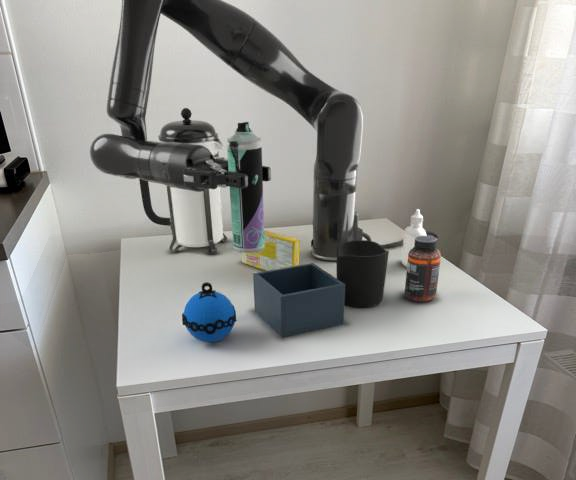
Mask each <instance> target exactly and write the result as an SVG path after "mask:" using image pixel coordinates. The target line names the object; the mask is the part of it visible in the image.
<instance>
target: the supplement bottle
mask: <svg viewBox="0 0 576 480" xmlns="http://www.w3.org/2000/svg"><path fill="white" fill-rule="evenodd" d="M414 245H415V246H414V247H413V248H412V249H411V250H410V251H409V253H408V262H407V267H406V273H405V282H404V283H405V284H404V297H405V298H406V299H409V300H410V301H413V302H419V303H420V302H421V303H423V302H430V301H432V300H434V299H435V298H436V296H437V292H438V283H439V276H440V268H441V259H442V253H441V251H440V250H439V249H438V248H437V246H438V238H435V237H434V236H433V235H427V236H418V237H416V238H415V244H414Z"/></svg>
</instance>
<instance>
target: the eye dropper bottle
mask: <svg viewBox="0 0 576 480" xmlns="http://www.w3.org/2000/svg"><path fill="white" fill-rule="evenodd" d="M423 222H424V216H423V215H422V214H421V209H420V208H417V209H416V210H415V212H414V214H412V215H411V216H410V226H407V227H405V229H404V231H403V232H404V233H403V239H404V240H403V239H402V240H403V244H402V250H401V260H400V261H401V264H402V265H403V266H404V267H406V268H407V262H408V253H409V251H410V250H411V249H412V248H413V247H414V246H415V245H414V244H415V238H416V237H418V236H428V235H426V232H425V231H426V230H425V229H424V228H423Z"/></svg>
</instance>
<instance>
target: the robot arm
mask: <svg viewBox="0 0 576 480" xmlns="http://www.w3.org/2000/svg"><path fill="white" fill-rule="evenodd" d="M120 12H121V13H120V21H119V27H118V34H117V40H116V46H115V50H114V57H113V61H112V68H111V74H110V80H109V87H108V93H107V101H106V115H107V117H108V118H110V119H111V120H112V121H114V122H115V123H117V124H118V125H119V128H120V133H121V135H119V134H114V133H101V134H100V135H98V136H97V137H96V138H94V140H93V141H92V142H91V145H90V148H89V157H90V160H91V162H92V165H94V167H95V168H96V169H97V170H98V171H99V172H101V173H103V174H106V175H109V176H115V177H119V178H124V179H127V180H128V179H129V180H136V179H138V180H139V179H142V180H145V181H148V183H153V184H160V185H163V186H164V185H165V187H166V186H169V187H173V188H179V189H185V190H190V191H196V192H202V191H204V190H206V189H207V188H208V189H216V188H217V187H220V188H224V189H225V188H228V187H229V188H230V187H236V188H242V189H244V188H247V187H248V176H247V174H246V173H239V172H232V171H229V169H228V158H225V157H224V156H219V157H213V155H212V153H211V152H210V151H209V150H208V149H207V148H206V147H204V146H201V145H193V144H185V143H177V142H167V143H164V142H160V141H155V140H148V137H147V136H148V135H147V125H146V116H147V110H148V104H149V97H150V91H151V86H152V85H151V84H152V77H153V76H152V75H153V67H154V55H155V48H156V47H155V45H156V39H157V32H158V29H159V24H160V23H159V22H160V18H161V15H162V16H164V17H166V18H167V19H169V20H170V21H172V22H173V23H175V24H176V25H178V26H180V27H181V28H183V29H184V30H185V31H187V32H188V33H189V34H190V35H191V36H192V37H193V38H195V40H197V41H198V42H199V43H200V44H201V45H202V46H204V47H205V48H206V49H207V50H208V51H209V52H211V53H212V54H213V55H214V56H216V57H217V58H218V59H219V60H221V62H223V63H224V64H226V66H228V67H229V68H231V69H232V70H233V71H234V72H236V73H237V74H239V75H240V76H241V77H243V78H244V79H245V80H247V81H248V82H250V83H251V84H253V85H254V86H256V87H257V88H259V89H261V90H263V91H264V92H266V93H268V94H270V95H271V96H273V97H275V98H277V99H279V100H281V101H282V102H284V103H285V104H287V105H288V106H289V107H291V108H292V109H293V110H294V111H295V112H297V114H299V115H300V117H302V118H303V119H304V120H305V121H306V122H307V123H308V124H309V125H310V126H311V127H312V128H313V129H314V130H315V132H316V155H315V160H314V163H313V181H312V182H313V183H312V185H313V187H312V188H313V189H312V191H313V194H312V195H313V196H312V199H313V200H312V239H311V241H310V248H311V249H312V250H311V256H313V257H314V258H316V259H319V260H323V261H331V262H333V261H335V262H336V250H337V246H338V245H339V244H341V243H344V242H347V241H355V240H363V238H364V239H365V240H367V241H372V238H371V236H370V235H369V234H368V233H366V232H363V231H364V230H363V228H361V227H359V212H357V211H356V197H357V178H358V176H357V175H358V168H359V165H360V161H361V155H362V144H363V143H362V142H363V129H364V115H363V108H362V107H361V105H360V103H359V101H358V99H356V98H355V97H354V96H353V95H351V94H349V93H346V92H343V91H341V90H338V89H337V88H335V87H333V86H332V85H330V84H328V83H327V82H326V81H323V80H322V79H320V77H318V76H316V75H315V74H313V73H312V72H311V71H310V70H308V69H307V68H306V67H305V66H304V64H302V63H301V62H300V60H299V59H298V58H297V57H296V56H295V55H294V53H293V52H292V51H291V50H290V49H289V48H288V47H287V46H286V45H285V44H284V43H283V42H282V41H281V39H279V38H278V37H277V36H276V35H275V34H274V33H272V31H270V30H269V29H268V28H267V27H266V26H264V25H263V24H262V23H260V22H259V21H258V20H256V18H254V17H253V16H252V15H250V14H248V13H247V12H245V11H244V10H243V9H240V8H239V7H237V6H235V5H232V3H231V4H230V3H229V2H227V1H224V0H121V10H120ZM262 175H263V182H269V181H271V180H272V169H271V167H270V166H266V165H262ZM425 232H426V235H427V236H432V237H435V238H437V239H439V238H440V235H439V233H437V232H436V231H433V230H425ZM403 240H404V238H403V239H401V240H398V241H394V242H391V243H386V244H380V245H381V246H382V247H383V248H384V249H390V248H395V247H399V246H403Z"/></svg>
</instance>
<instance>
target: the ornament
mask: <svg viewBox="0 0 576 480" xmlns="http://www.w3.org/2000/svg"><path fill="white" fill-rule="evenodd" d="M206 287H208V289H206ZM181 319H182V320H181V321H182V325H183V326H185V328H186V330H187V331H188V333H189V334H190V335H191V336H192V337H193V338H194V339H196V340H198V341H201V342H205V343H210V344H211V343H215V342H219V341H222V340H224V339H225V338H226V337H227V336H228V335H230V333H231V332H232V330H233V328H234V326H235V322H237V311H236V309H235V306H234V304H233V303H232V302H231V301H230V299H229V298H228V297H227V296H225V294H222V293H220V292H219V291H217V290H215V289H213V285H212V284H211V283H210V282H207V281H206V282H204V283H202V284H201V290H200V291H198V292H197V293H195V294H194V295H192V297H190V298H189V299H188V301H187V302H186V304H185V307H184V309H183V313H182V314H181Z"/></svg>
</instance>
